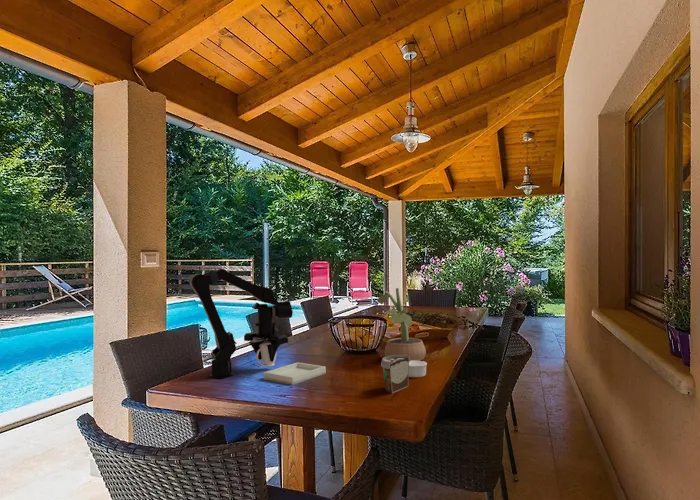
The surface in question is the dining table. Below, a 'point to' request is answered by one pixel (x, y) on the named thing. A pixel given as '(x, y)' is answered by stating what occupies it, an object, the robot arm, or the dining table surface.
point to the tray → (294, 373)
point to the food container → (395, 372)
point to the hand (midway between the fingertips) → (266, 360)
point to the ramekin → (417, 368)
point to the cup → (265, 355)
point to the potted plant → (402, 332)
